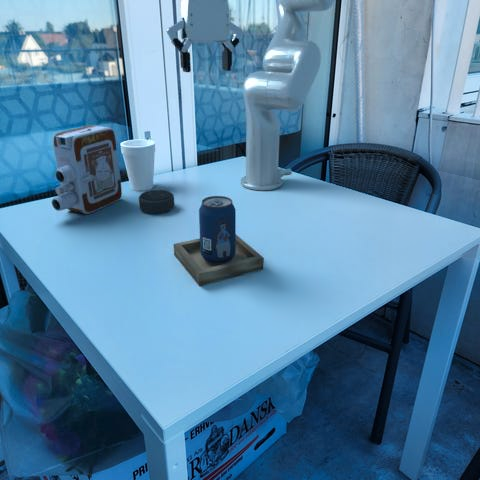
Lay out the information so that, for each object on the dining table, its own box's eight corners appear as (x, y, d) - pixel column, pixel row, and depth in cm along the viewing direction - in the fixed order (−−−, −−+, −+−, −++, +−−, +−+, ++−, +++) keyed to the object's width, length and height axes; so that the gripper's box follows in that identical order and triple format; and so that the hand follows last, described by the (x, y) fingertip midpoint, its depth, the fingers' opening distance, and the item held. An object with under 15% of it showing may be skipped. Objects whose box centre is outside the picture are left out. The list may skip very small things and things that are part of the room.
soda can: (215, 246, 89) (214, 192, 84) (242, 255, 86) (243, 199, 80) (193, 259, 84) (190, 202, 79) (221, 269, 81) (220, 210, 75)
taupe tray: (232, 241, 93) (232, 231, 92) (263, 269, 82) (263, 257, 81) (174, 254, 88) (173, 243, 87) (199, 286, 77) (198, 274, 76)
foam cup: (132, 181, 130) (128, 138, 124) (162, 183, 129) (158, 140, 123) (120, 191, 122) (115, 146, 116) (151, 193, 120) (147, 148, 115)
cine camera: (44, 218, 104) (26, 136, 96) (101, 194, 120) (91, 121, 111) (71, 225, 101) (55, 140, 92) (127, 199, 116) (118, 125, 107)
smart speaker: (149, 201, 116) (148, 187, 114) (180, 204, 113) (179, 190, 112) (133, 213, 108) (132, 198, 106) (166, 217, 106) (164, 202, 104)
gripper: (233, -15, 94) (234, 68, 102) (158, -19, 87) (164, 71, 95) (250, -18, 88) (249, 71, 96) (170, -23, 81) (175, 74, 89)
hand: (207, 71), depth 95 cm, fingers open, 9 cm apart
